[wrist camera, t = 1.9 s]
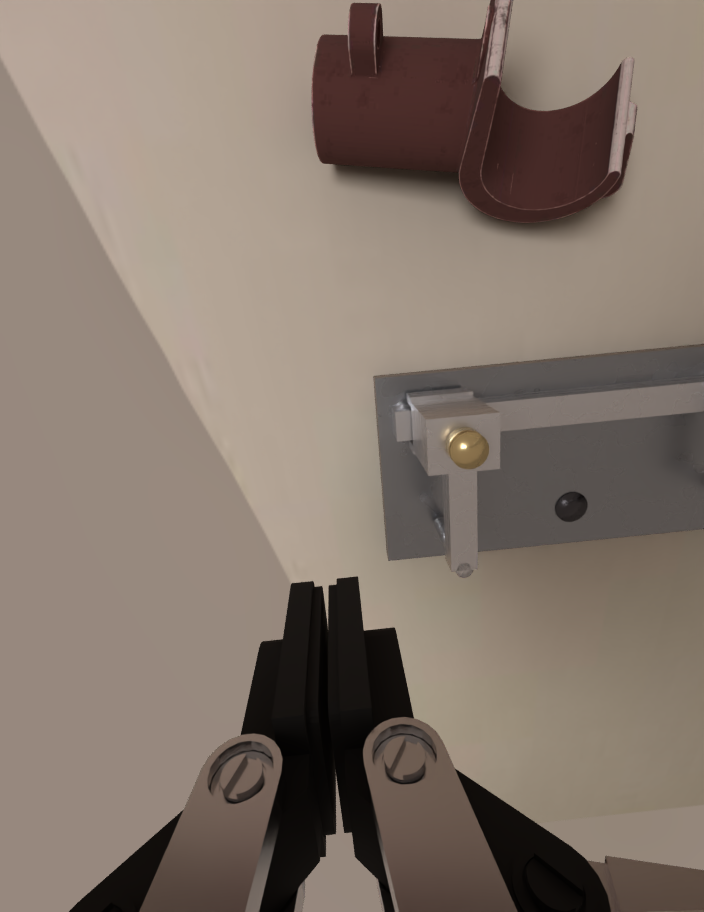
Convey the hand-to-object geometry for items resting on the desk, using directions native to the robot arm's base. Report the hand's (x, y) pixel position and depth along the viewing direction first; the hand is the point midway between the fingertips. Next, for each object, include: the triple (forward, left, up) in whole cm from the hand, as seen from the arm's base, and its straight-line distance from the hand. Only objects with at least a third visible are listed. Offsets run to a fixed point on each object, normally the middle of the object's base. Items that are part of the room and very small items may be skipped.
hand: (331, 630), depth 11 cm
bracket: (-10, -17, -23) cm, 30 cm away
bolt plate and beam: (-18, +4, -23) cm, 29 cm away
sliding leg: (-7, +3, -21) cm, 22 cm away
